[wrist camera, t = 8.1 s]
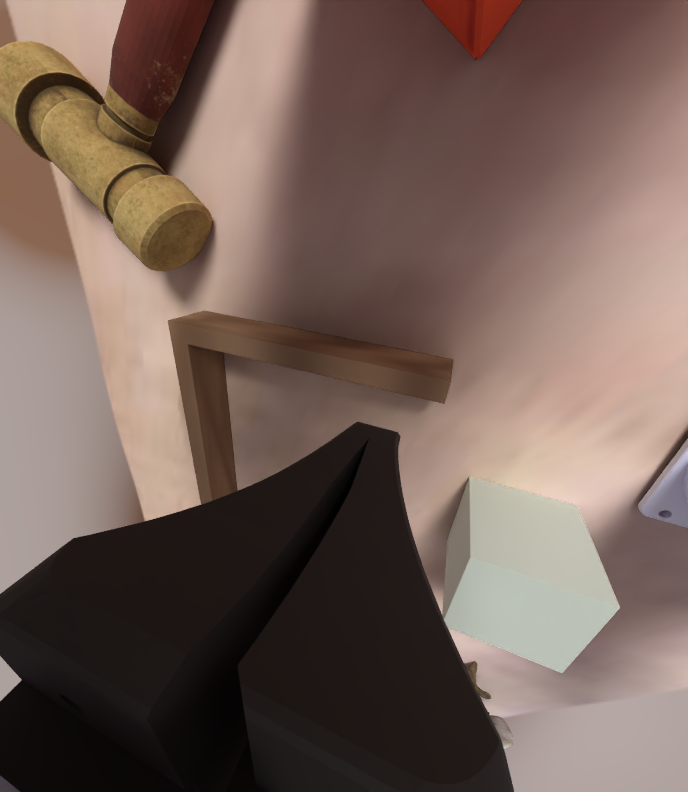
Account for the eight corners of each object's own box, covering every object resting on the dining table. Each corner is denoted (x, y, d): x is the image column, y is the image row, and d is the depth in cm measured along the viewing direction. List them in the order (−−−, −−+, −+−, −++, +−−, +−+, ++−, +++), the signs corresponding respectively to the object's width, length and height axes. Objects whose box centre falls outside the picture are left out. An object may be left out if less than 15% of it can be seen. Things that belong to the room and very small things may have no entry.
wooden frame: (453, 359, 17) (450, 381, 14) (391, 583, 27) (384, 619, 24) (203, 310, 21) (167, 320, 18) (230, 520, 31) (208, 545, 28)
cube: (577, 504, 18) (620, 607, 13) (539, 568, 21) (562, 673, 16) (469, 475, 20) (470, 556, 15) (447, 538, 23) (441, 625, 17)
